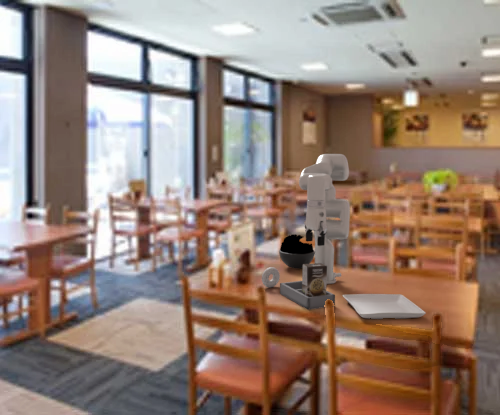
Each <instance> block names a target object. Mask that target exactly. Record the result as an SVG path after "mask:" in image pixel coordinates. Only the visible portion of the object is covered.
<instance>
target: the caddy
mask: <svg viewBox="0 0 500 415" xmlns="http://www.w3.org/2000/svg"><path fill="white" fill-rule="evenodd" d="M279 294H280V295H281V296H283V297H285V298H287V299H288V300H290V301H292V302H293V303H295V304H297V305H299V306H300V307H302V308H304V309H306V310H315V309H316V310H317V309H325V308H324V305H325V301H326V300H327V299H330V300H332V301H333V303H334V305H335V304H336V294H335V293H333V292H330V291H328V290H326V295H322V296H314V297H308V296H306V295H304V294H302V280H297V281H289V282H288V281H287V282H280V283H279Z"/></svg>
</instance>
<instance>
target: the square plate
mask: <svg viewBox="0 0 500 415" xmlns="http://www.w3.org/2000/svg"><path fill="white" fill-rule="evenodd" d="M342 297H343V299H345V300H346V301H347V302H348V304H349V305H350V306H352V308H353V309H354V310H355V312H356V313H357V314H358V315H359V316H360V317H362V318H363V319H370V318H371V319H370V320H374V319H375V320H376V319H377V320H382V319H383V318H395V319H411V318H412V319H413V318H420V317H423V316H424V315H426V313H427V312H426V311H424V310H423V309H422V308H421V307H420V306H418V305H416V304H415V303H414V302H413V301H411V300H410V299H409V298H407V297H406V296H405V295H403V294H394V293H393V294H392V293H391V294H389V293H358V294H357V293H355V294H342ZM383 320H384V319H383Z"/></svg>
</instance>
